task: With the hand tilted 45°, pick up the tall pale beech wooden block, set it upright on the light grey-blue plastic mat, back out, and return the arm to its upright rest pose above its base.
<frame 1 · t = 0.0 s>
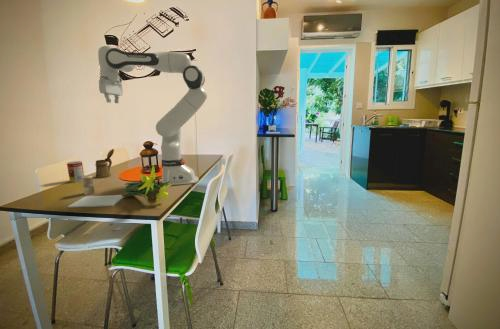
hand: (112, 102, 141), 48 cm above the table, tool pointing down, fingers open, 8 cm apart
daffodil flowers: (142, 201, 118), on the table, touching grey-blue mat
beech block: (89, 193, 132), on the table
wooden mug: (106, 176, 170), on the table
canned food: (77, 180, 158), on the table
grey-blue mat: (98, 201, 119), on the table
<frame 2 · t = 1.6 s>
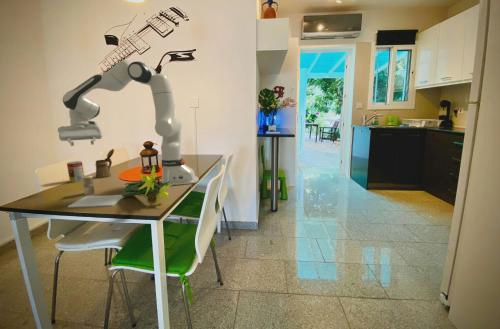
hand: (82, 144, 137), 25 cm above the table, tool tilted 45°, fingers open, 8 cm apart
nothing on the table moved.
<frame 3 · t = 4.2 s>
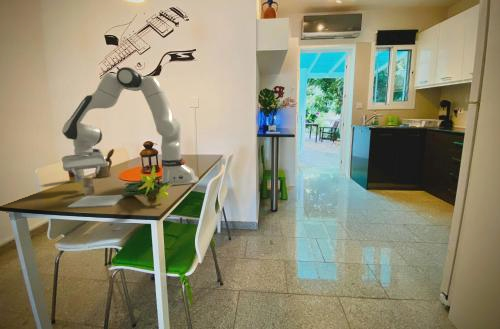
hand: (86, 174, 134), 9 cm above the table, tool tilted 45°, fingers open, 8 cm apart
nothing on the table moved.
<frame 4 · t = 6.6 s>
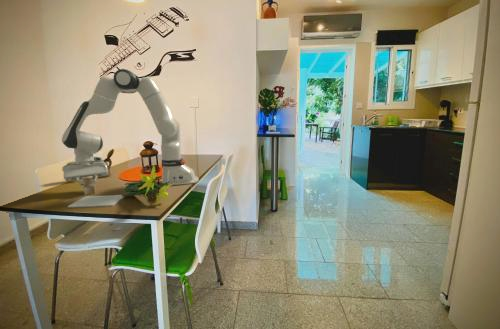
hand: (88, 183, 130), 5 cm above the table, tool tilted 45°, fingers closed on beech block, 4 cm apart
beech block: (89, 193, 132), on the table, touching gripper
everything else where it was.
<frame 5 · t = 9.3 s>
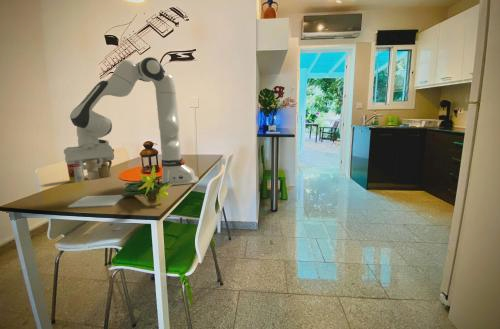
hand: (92, 168, 118), 16 cm above the table, tool tilted 45°, fingers closed on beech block, 4 cm apart
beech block: (94, 178, 120), point 11 cm above the table, touching gripper
everything else where it was.
when the fingers open (8 cm above the table, at t = 12.1 s): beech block drops 2 cm, resting on grey-blue mat.
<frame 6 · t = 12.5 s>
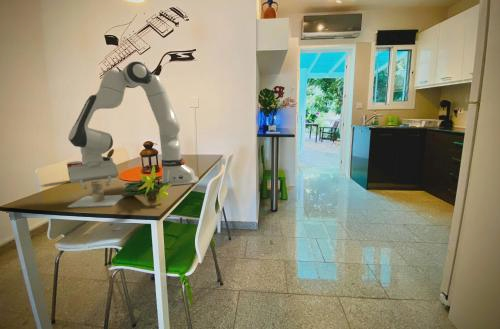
hand: (96, 186, 117), 8 cm above the table, tool tilted 45°, fingers open, 8 cm apart
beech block: (98, 200, 119), point 1 cm above the table, touching grey-blue mat
everything else where it was.
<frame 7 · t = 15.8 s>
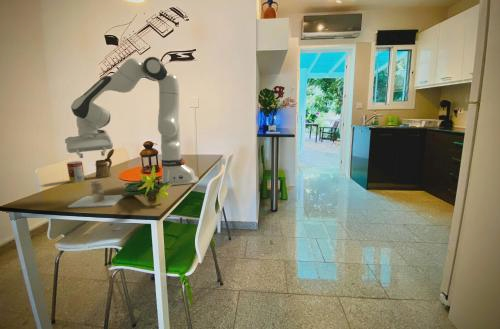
hand: (92, 156, 125), 21 cm above the table, tool tilted 45°, fingers open, 8 cm apart
nothing on the table moved.
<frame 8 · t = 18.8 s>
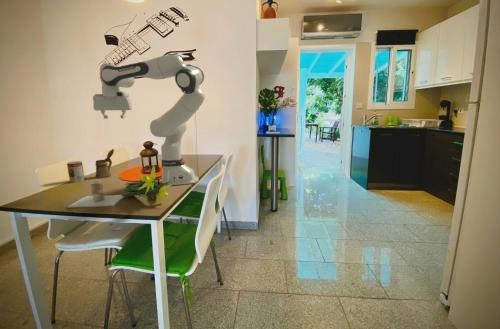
hand: (114, 118, 143), 39 cm above the table, tool pointing down, fingers open, 8 cm apart
nothing on the table moved.
at the end: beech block inside the target area on the grey-blue mat (0.1 cm from its centre), point 0.6 cm above the grey-blue mat's base; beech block tilted 0°; the gripper is holding nothing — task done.
